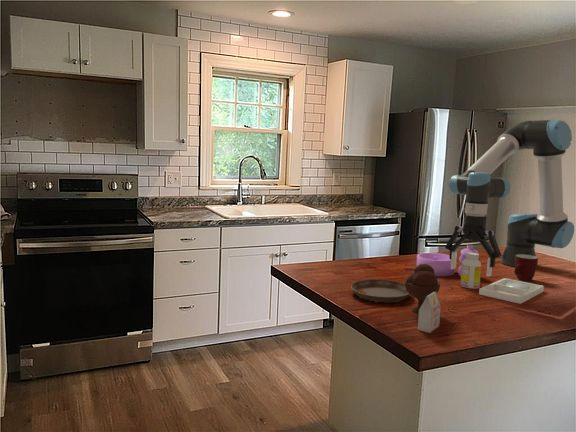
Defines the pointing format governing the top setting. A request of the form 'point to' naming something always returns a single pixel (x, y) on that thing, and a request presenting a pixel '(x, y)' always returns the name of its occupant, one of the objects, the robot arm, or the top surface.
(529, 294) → the two-compartment tray
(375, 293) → the plant saucer
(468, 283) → the supplement bottle
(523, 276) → the mug
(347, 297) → the top surface
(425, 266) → the ice cream bowl
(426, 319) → the tea bag
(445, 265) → the container set
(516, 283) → the light grey round disc
